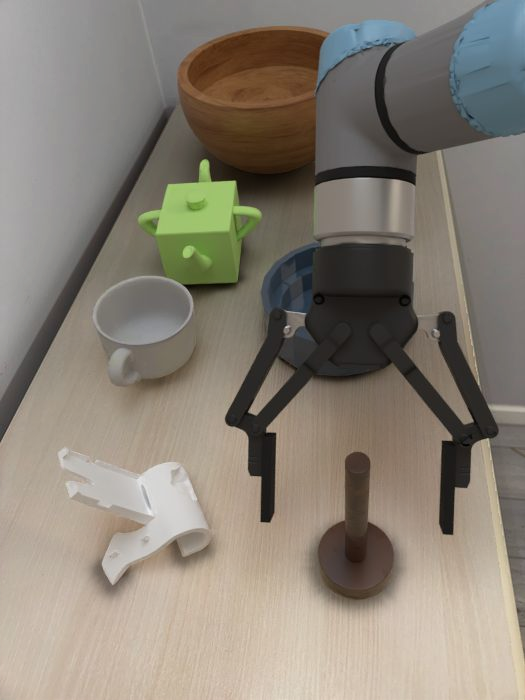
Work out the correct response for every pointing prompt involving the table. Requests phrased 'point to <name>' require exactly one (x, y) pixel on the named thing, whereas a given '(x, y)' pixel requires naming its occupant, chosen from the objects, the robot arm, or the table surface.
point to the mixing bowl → (297, 305)
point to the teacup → (145, 328)
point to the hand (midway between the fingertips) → (355, 523)
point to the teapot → (201, 230)
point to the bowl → (255, 96)
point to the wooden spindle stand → (356, 540)
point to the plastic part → (139, 508)
